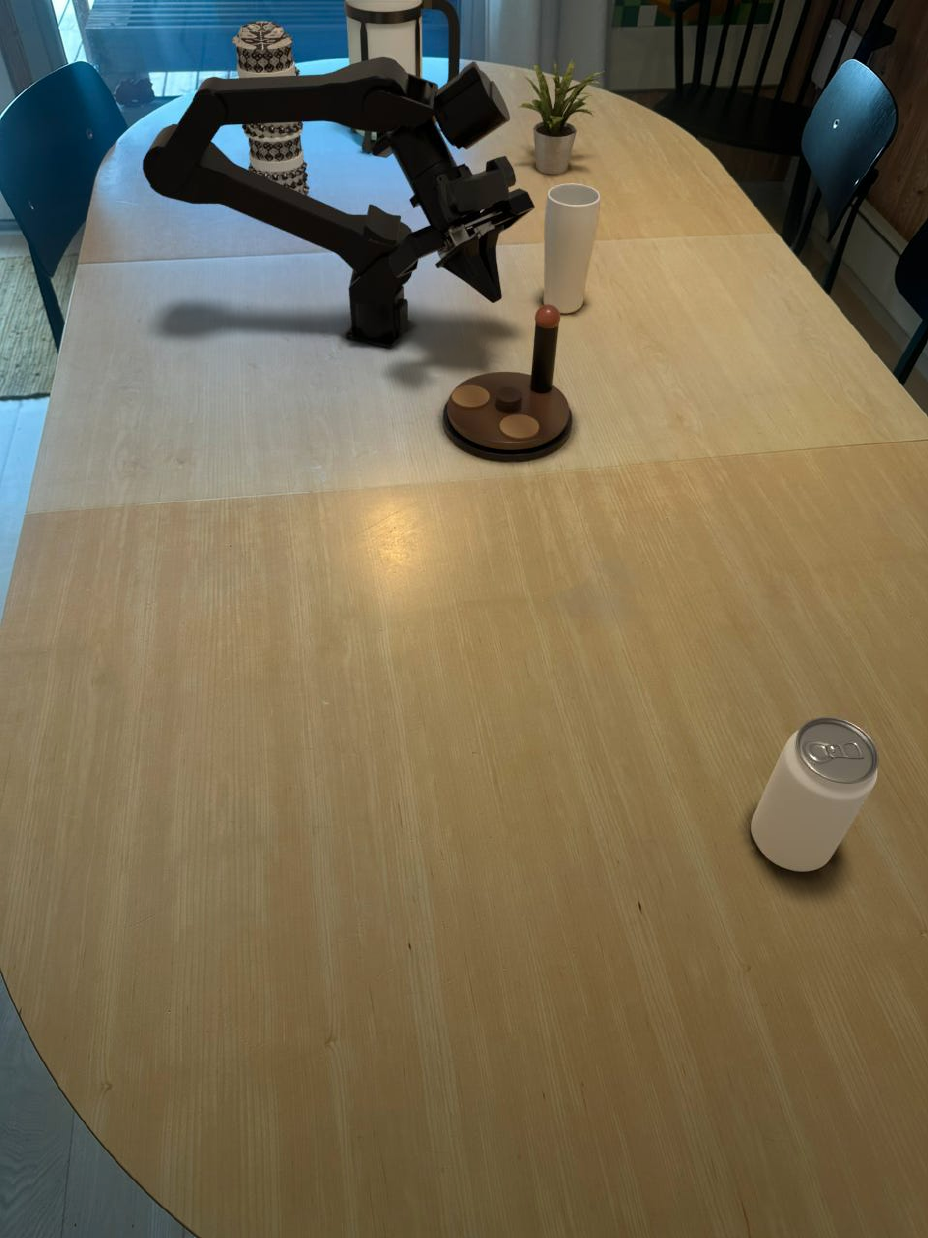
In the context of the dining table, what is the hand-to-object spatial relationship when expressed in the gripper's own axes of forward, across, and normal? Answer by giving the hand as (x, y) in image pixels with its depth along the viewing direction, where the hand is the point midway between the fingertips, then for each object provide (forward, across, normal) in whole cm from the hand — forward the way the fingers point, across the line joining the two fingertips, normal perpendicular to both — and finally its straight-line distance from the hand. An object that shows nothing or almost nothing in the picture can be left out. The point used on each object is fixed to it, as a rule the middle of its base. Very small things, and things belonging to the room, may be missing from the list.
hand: (497, 300), depth 112 cm
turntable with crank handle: (+12, -6, 0) cm, 13 cm away
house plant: (-18, +51, +32) cm, 62 cm away
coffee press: (-37, +40, +52) cm, 75 cm away
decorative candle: (-30, +8, +45) cm, 55 cm away
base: (+13, -6, +1) cm, 14 cm away
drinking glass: (+3, +19, +11) cm, 22 cm away
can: (+50, -29, -36) cm, 68 cm away
